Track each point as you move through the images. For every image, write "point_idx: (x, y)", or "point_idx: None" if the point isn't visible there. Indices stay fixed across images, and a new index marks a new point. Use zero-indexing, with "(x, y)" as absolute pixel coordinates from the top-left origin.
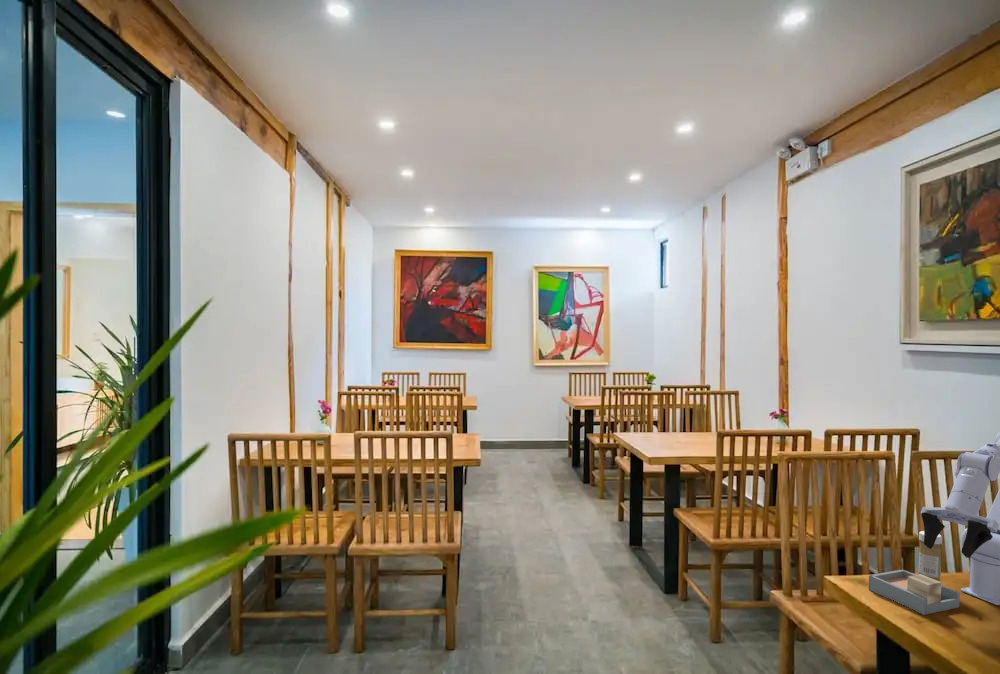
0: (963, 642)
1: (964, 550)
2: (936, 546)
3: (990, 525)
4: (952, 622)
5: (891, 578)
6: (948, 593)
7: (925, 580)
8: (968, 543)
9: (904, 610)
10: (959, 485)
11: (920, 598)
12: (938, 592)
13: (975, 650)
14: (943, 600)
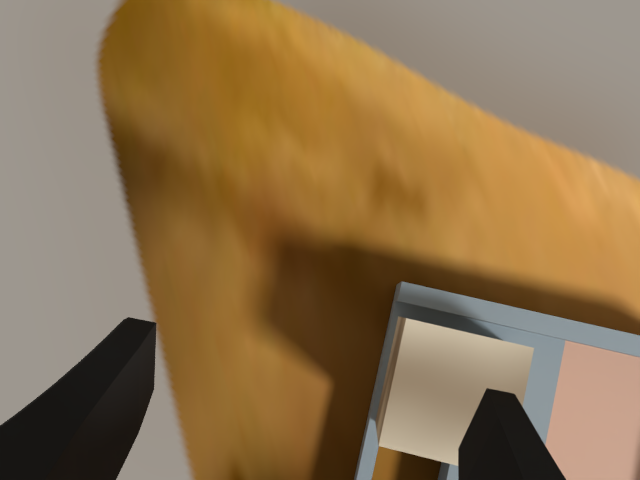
0: (204, 154)
1: (120, 326)
2: None
3: None
4: (295, 322)
5: None
6: None
7: (445, 385)
8: (62, 377)
9: (468, 253)
10: None
11: (423, 287)
12: (381, 410)
13: (156, 123)
14: (374, 458)
